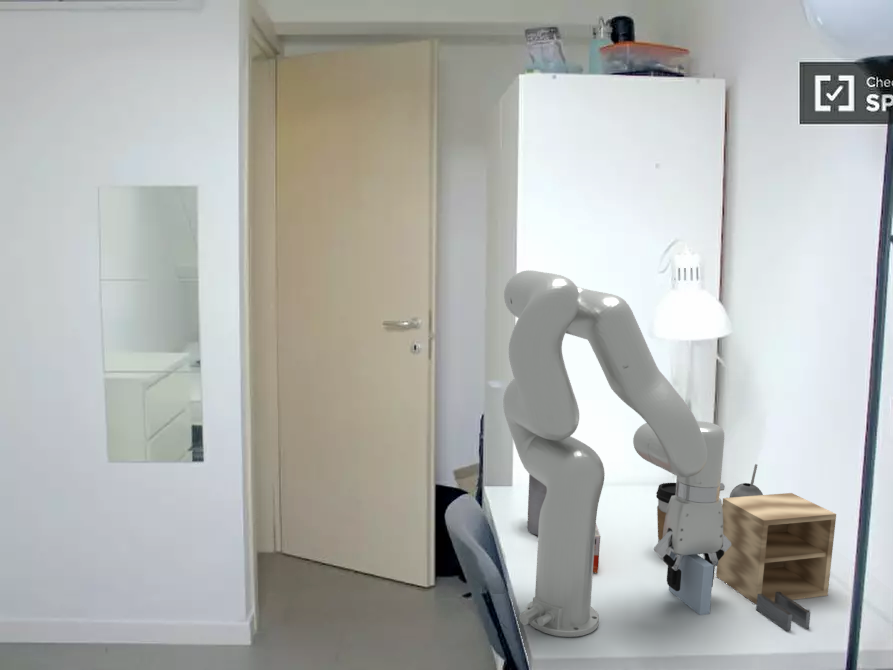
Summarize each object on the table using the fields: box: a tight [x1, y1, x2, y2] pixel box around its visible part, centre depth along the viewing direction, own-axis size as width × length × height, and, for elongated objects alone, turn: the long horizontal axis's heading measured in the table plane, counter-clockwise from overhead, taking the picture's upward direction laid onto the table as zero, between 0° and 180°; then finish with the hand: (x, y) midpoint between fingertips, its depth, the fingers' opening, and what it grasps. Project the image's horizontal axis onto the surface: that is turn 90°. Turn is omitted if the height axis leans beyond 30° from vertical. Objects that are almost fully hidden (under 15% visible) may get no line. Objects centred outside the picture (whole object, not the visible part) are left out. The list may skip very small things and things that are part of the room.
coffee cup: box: [655, 482, 676, 554], centre depth 169 cm, size 8×8×15 cm
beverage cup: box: [728, 463, 764, 498], centre depth 170 cm, size 7×7×20 cm
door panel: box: [668, 554, 714, 616], centre depth 149 cm, size 10×3×9 cm, turn 17°
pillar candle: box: [526, 473, 547, 536], centre depth 180 cm, size 10×10×15 cm
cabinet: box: [715, 492, 837, 605], centre depth 156 cm, size 12×16×16 cm
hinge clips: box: [755, 592, 812, 632], centre depth 144 cm, size 8×5×3 cm, turn 17°
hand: (689, 585), depth 149 cm, fingers open, 6 cm apart
